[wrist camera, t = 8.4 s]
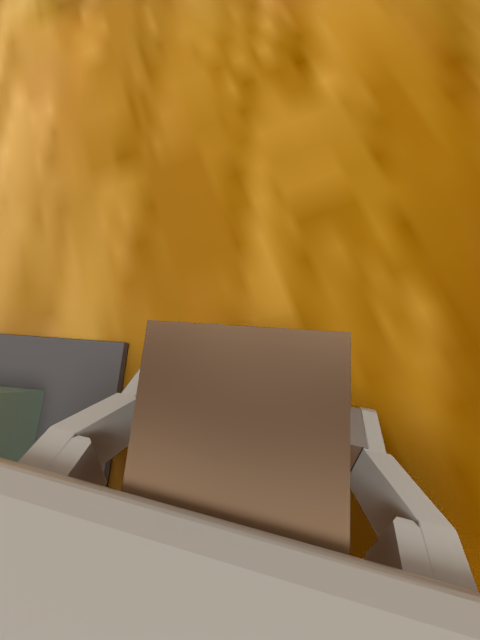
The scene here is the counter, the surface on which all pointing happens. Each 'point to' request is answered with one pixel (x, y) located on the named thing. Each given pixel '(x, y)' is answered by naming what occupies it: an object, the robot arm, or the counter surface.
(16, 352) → the mat
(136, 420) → the walnut block
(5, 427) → the sage brick
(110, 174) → the counter surface
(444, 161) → the counter surface
